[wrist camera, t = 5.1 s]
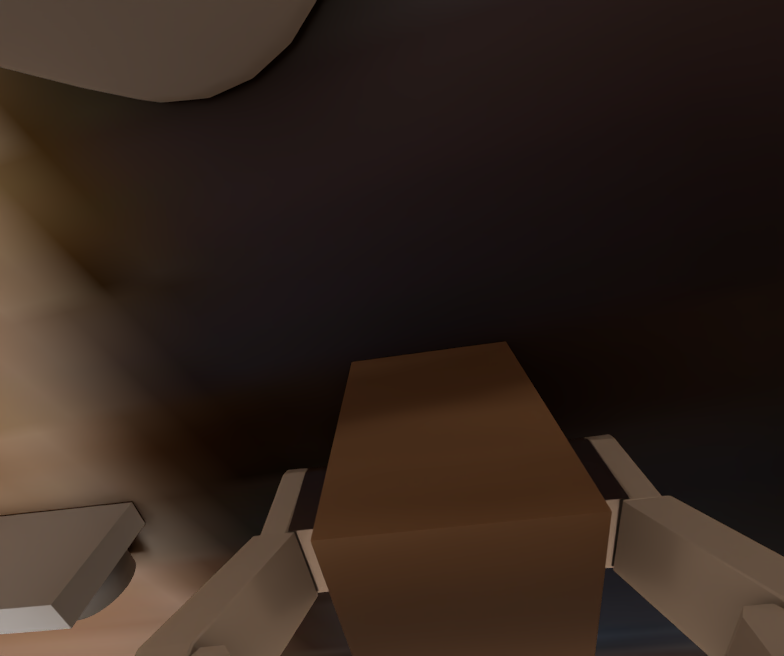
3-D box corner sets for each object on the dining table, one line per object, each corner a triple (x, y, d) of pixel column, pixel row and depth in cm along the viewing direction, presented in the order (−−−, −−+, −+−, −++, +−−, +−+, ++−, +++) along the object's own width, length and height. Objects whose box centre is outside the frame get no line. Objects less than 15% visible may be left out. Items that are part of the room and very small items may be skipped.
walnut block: (351, 361, 10) (310, 540, 5) (505, 341, 9) (612, 511, 5) (377, 474, 11) (364, 689, 7) (509, 460, 11) (592, 674, 6)
